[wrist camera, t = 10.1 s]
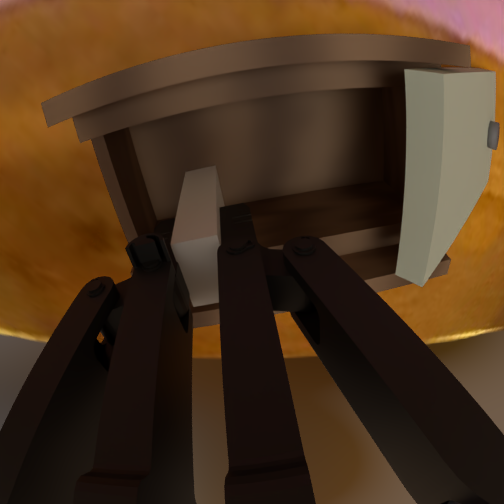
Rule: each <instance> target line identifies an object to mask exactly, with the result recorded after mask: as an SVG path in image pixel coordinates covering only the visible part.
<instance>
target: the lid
mask: <svg viewBox="0 0 504 504" xmlns="http://www.w3.org/2000/svg"><path fill="white" fill-rule="evenodd" d="M404 71H405V89H406V171H405V189H404V203H403V215H402V226H401V235H400V244H399V252H398V260H397V267H396V274H395V275H397V276H399V277H402V278H404V279H406V280H408V281H410V282H412V283H415V284H417V285H419V286H421V287H423V285H424V284H425V283H426V281H427V280H428V278H429V277H430V276H431V274H432V273H433V271H434V270H435V268H436V267H437V265H438V264H439V262H440V261H441V259H442V258H443V256H444V255H445V253H446V252H447V250H448V249H449V247H450V246H451V244H452V243H453V241H454V239H455V238H456V236H457V235H458V233H459V231H460V230H461V228H462V227H463V225H464V223H465V222H466V220H467V218H468V216H469V215H470V213H471V211H472V210H473V208H474V206H475V204H476V202H477V201H478V199H479V197H480V195H481V193H482V192H483V190H484V188H485V186H486V184H487V182H488V178H489V171H490V164H491V156H492V149H494V150H496V149H497V146H498V140H499V123H497V122H495V97H496V74H495V71H490V70H486V69H481V68H417V69H404Z"/></svg>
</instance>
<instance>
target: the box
mask: <svg viewBox="0 0 504 504" xmlns="http://www.w3.org/2000/svg"><path fill="white" fill-rule="evenodd" d="M441 64H446V65H454V66H462V67H469V68H471V58H470V46H469V45H464V44H458V43H452V42H446V41H440V40H433V39H425V38H416V37H406V36H394V35H377V34H316V35H298V36H286V37H275V38H266V39H258V40H250V41H243V42H237V43H231V44H225V45H219V46H214V47H209V48H204V49H199V50H194V51H190V52H185V53H181V54H177V55H173V56H169V57H165V58H162V59H158V60H154V61H151V62H147V63H144V64H141V65H137V66H134V67H131V68H128V69H125V70H122V71H119V72H116V73H113V74H110V75H107V76H104V77H102V78H99V79H96V80H94V81H91V82H88V83H86V84H83V85H81V86H78V87H76V88H74V89H71V90H69V91H67V92H64V93H62V94H60V95H58V96H55V97H53V98H51V99H49V100H47V101H45V102H42V103H41V105H42V108H43V112H44V115H45V119H46V122H47V126H48V127H50V126H52V125H55V124H57V123H59V122H62V121H64V120H67V119H69V118H73V121H74V125H75V128H76V131H77V135H78V138H79V141H80V143H82V142H84V141H87V140H90V139H91V141H92V144H93V147H94V150H95V153H96V156H97V160H98V163H99V166H100V169H101V172H102V174H103V177H104V180H105V183H106V186H107V189H108V192H109V194H110V197H111V200H112V203H113V205H114V208H115V211H116V213H117V216H118V218H119V221H120V224H121V226H122V229H123V231H124V234H125V236H126V239H127V241H128V243H130V242H131V241H132V240H133V239H135V238H137V237H139V236H141V235H144V234H147V233H153V232H154V229H155V227H156V226H157V225H158V224H159V223H160V222H161V221H163V220H168V219H172V218H176V214H177V209H178V204H179V200H180V195H181V190H182V186H183V181H184V177H185V173H186V172H188V171H192V170H197V169H201V168H206V167H210V166H215V165H216V170H217V174H218V179H219V183H220V188H221V192H222V196H223V201H224V205H225V206H229V205H234V204H239V203H244V204H246V205H247V206H248V207H250V212H251V216H252V221H253V225H254V229H255V234H256V238H257V241H258V243H259V244H260V245H261V246H263V247H265V248H269V249H282V250H283V246H284V244H285V243H286V242H287V241H289V240H291V239H293V238H295V237H299V236H313V237H317V238H319V239H321V240H323V241H324V242H325V243H326V244H327V245H328V246H329V247H330V248H331V249H332V250H333V251H334V252H335V253H336V254H337V255H338V256H340V257H341V258H342V259H343V260H344V261H345V262H346V263H347V264H348V265H349V266H350V267H351V268H352V269H353V270H354V271H355V272H356V273H357V274H358V275H359V276H360V277H361V278H362V279H363V280H364V281H365V282H366V283H367V284H368V285H369V286H370V287H371V288H372V289H373V290H374V291H375V292H380V291H384V290H388V289H392V288H396V287H400V286H404V285H408V284H412V282H410V281H408V280H406V279H404V278H402V277H399V276H397V275H395V274H396V267H397V260H398V252H399V244H400V235H401V226H402V215H403V203H404V189H405V171H406V89H405V71H404V69H417V68H441ZM450 261H451V259H450V258H449V257H448V256H447V254H446V253H445V255H444V256H443V258H442V259H441V261H440V262H439V264H438V265H437V267H436V268H435V270H434V271H433V273H432V274H431V276H430V277H429V278H428V279H430V278H434V277H438V276H441V275H445V274H447V273H448V269H449V265H450ZM133 271H134V267H132V271H131V275H132V274H133ZM189 307H190V309H191V312H192V315H193V328H197V327H204V326H210V325H216V324H220V317H219V303H213V304H207V305H202V306H196V307H193V304H192V302H191V299H190V298H189ZM273 312H274V314H279V313H284V312H287V311H273Z"/></svg>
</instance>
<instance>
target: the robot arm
mask: <svg viewBox="0 0 504 504" xmlns="http://www.w3.org/2000/svg"><path fill="white" fill-rule="evenodd" d="M125 249H126V251H127V254H128V256H129V258H130V260H131V263H132V265H133V267H134V271H133V274H132V277H131V278H129V279H127V280H125V281H122V282H120V283H118V284H114V282H113V280H112V279H111V278H110V277H106V276H103V277H98V278H95V279H93V280H91V281H90V282H88V283H87V284H86V285H85V286H84V287H83V288H82V289H81V291H80V292H79V294H78V295H77V297H76V298H75V300H74V301H73V303H72V304H71V306H70V307H69V309H68V310H67V312H66V313H65V315H64V317H63V318H62V320H61V321H60V323H59V324H58V326H57V328H56V329H55V331H54V332H53V334H52V336H51V337H50V339H49V341H48V342H47V344H46V346H45V347H44V349H43V351H42V353H41V354H40V356H39V358H38V359H37V361H36V363H35V365H34V367H33V368H32V370H31V372H30V374H29V375H28V377H27V379H26V381H25V383H24V385H23V386H22V389H21V390H20V392H19V394H18V396H17V398H16V400H15V402H14V404H13V406H12V408H11V410H10V412H9V414H8V416H7V418H6V420H5V422H4V425H3V427H2V429H1V431H0V504H196V501H195V495H194V477H193V448H192V338H193V315H192V312H191V309H190V307H189V298H190V299H191V302H192V304H193V307H196V306H202V305H207V304H213V303H219V317H220V338H221V357H222V374H223V389H224V390H223V391H224V405H225V420H226V433H227V446H228V457H229V458H228V459H229V471H228V474H227V475H226V477H225V485H224V488H225V504H316V503H315V498H314V493H313V488H312V484H311V479H310V474H309V470H308V466H307V463H306V460H305V456H304V452H303V447H302V442H301V437H300V433H299V428H298V424H297V418H296V414H295V409H294V405H293V400H292V395H291V390H290V386H289V381H288V377H287V372H286V367H285V362H284V358H283V353H282V349H281V344H280V339H279V335H278V330H277V326H276V321H275V317H274V312H273V311H287V312H290V313H291V316H292V318H293V319H294V321H295V322H296V324H297V325H298V327H299V328H300V330H301V331H302V333H303V334H304V336H305V337H306V339H307V340H308V342H309V343H310V345H311V346H312V348H313V349H314V351H315V352H316V354H317V355H318V357H319V358H320V360H321V361H322V363H323V365H324V366H325V368H326V369H327V371H328V372H329V374H330V375H331V377H332V378H333V380H334V381H335V383H336V384H337V386H338V387H339V389H340V390H341V392H342V393H343V395H344V396H345V398H346V399H347V401H348V402H349V404H350V405H351V407H352V408H353V410H354V411H355V413H356V414H357V416H358V417H359V419H360V420H361V422H362V423H363V425H364V426H365V428H366V429H367V431H368V432H369V434H370V435H371V437H372V439H373V440H374V442H375V443H376V445H377V446H378V447H379V449H380V451H381V452H382V454H383V455H384V456H385V458H386V460H387V461H388V463H389V464H390V466H391V467H392V469H393V470H394V472H395V473H396V475H397V476H398V478H399V479H400V481H401V482H402V484H403V485H404V487H405V488H406V490H407V491H408V492H409V494H410V495H411V496H412V498H413V499H414V500H415V501H416V503H417V504H504V435H503V434H502V432H501V431H500V430H499V429H498V427H497V426H496V425H495V424H494V422H493V421H492V420H491V419H490V417H489V416H488V415H487V414H486V413H485V411H484V410H483V409H482V408H481V407H480V405H479V404H478V403H477V402H476V401H475V400H474V398H473V397H472V396H471V395H470V394H469V393H468V391H467V390H466V389H465V388H464V387H463V386H462V384H461V383H460V382H459V381H458V380H457V379H456V378H455V377H454V375H453V374H452V373H451V372H450V371H449V370H448V369H447V367H445V365H444V364H443V363H442V362H441V361H440V360H439V359H438V357H437V356H436V355H435V354H434V353H433V352H432V351H431V350H430V349H429V348H428V347H427V345H426V344H425V343H424V342H423V341H422V340H421V339H420V338H419V337H418V336H417V335H416V334H415V333H414V332H413V330H412V329H411V328H410V327H409V326H408V325H407V324H406V323H405V322H404V321H403V320H402V319H401V318H400V317H399V316H398V315H397V314H396V313H395V312H394V311H393V309H392V308H391V307H390V306H389V305H388V304H387V303H386V302H385V301H384V300H383V299H382V298H381V297H380V296H379V295H378V294H377V293H376V292H375V291H374V290H373V289H372V288H371V287H370V286H369V285H368V284H367V283H366V282H365V281H364V280H363V279H362V278H361V277H360V276H359V275H358V274H357V273H356V272H355V271H354V270H353V269H352V268H351V267H350V266H349V265H348V264H347V263H346V262H345V261H344V260H343V259H342V258H341V257H340V256H338V255H337V254H336V253H335V252H334V251H333V250H332V249H331V248H330V247H329V246H328V245H327V244H326V243H325V242H324V241H323V240H321V239H319V238H317V237H313V236H299V237H295V238H293V239H291V240H289V241H287V242H286V243H285V244H284V246H283V250H282V249H269V248H265V247H263V246H261V245H260V244H259V243H258V241H257V238H256V234H255V229H254V225H253V221H252V216H251V212H250V207H248V206H247V205H246V204H244V203H239V204H234V205H229V206H225V205H224V201H223V196H222V192H221V188H220V183H219V179H218V174H217V170H216V165H215V166H210V167H206V168H201V169H197V170H192V171H188V172H186V173H185V177H184V181H183V186H182V190H181V195H180V200H179V204H178V209H177V214H176V218H172V219H168V220H163V221H161V222H160V223H159V224H158V225H157V226H156V227H155V229H154V232H153V233H147V234H144V235H141V236H139V237H137V238H135V239H133V240H132V241H131V242H130V243H128V245H127V246H126V248H125ZM100 332H101V333H102V335H103V336H104V340H103V341H102V342H101V343H99V341H98V340H97V336H98V334H99V333H100ZM92 467H93V468H92Z"/></svg>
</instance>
